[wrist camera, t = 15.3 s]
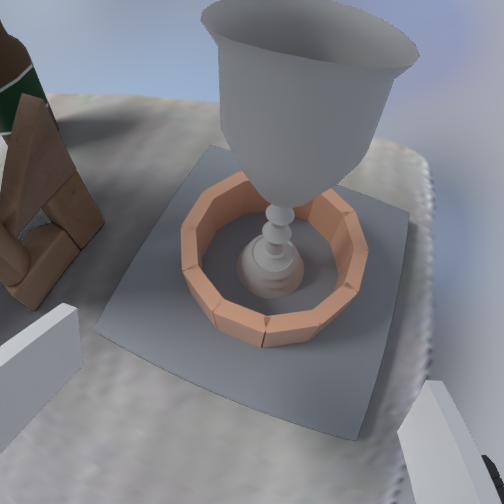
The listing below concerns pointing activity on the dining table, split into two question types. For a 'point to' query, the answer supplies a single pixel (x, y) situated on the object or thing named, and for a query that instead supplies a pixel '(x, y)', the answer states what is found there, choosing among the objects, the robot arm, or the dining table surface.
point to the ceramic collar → (249, 200)
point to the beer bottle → (16, 81)
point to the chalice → (298, 109)
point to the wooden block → (40, 206)
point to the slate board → (263, 311)
